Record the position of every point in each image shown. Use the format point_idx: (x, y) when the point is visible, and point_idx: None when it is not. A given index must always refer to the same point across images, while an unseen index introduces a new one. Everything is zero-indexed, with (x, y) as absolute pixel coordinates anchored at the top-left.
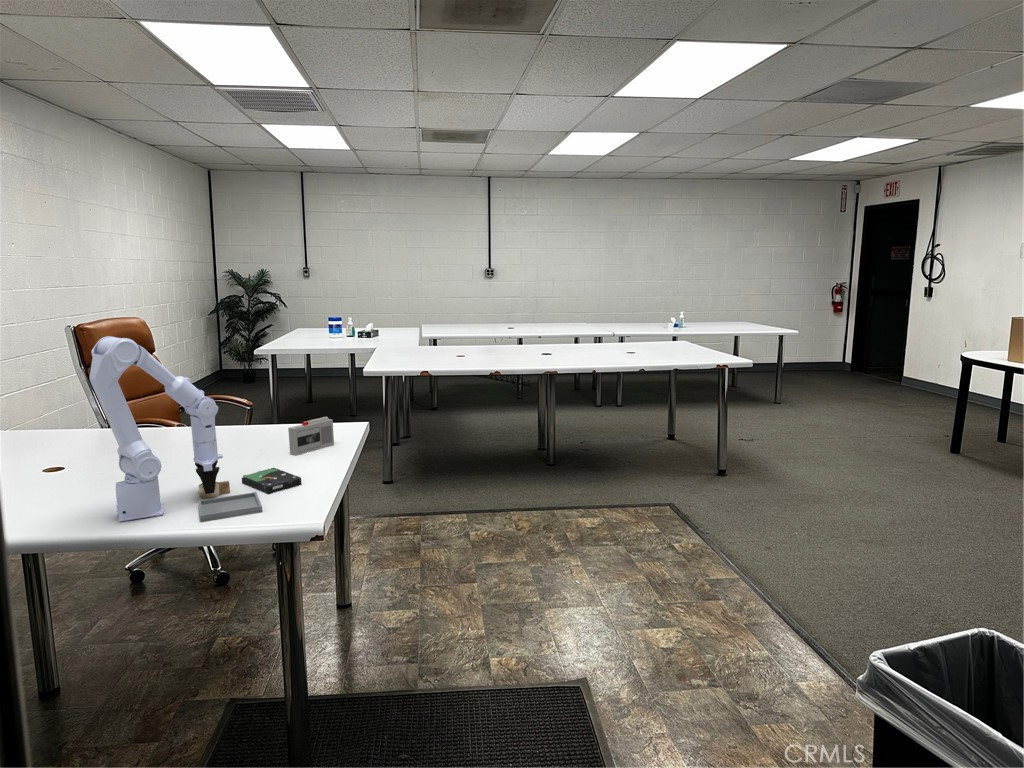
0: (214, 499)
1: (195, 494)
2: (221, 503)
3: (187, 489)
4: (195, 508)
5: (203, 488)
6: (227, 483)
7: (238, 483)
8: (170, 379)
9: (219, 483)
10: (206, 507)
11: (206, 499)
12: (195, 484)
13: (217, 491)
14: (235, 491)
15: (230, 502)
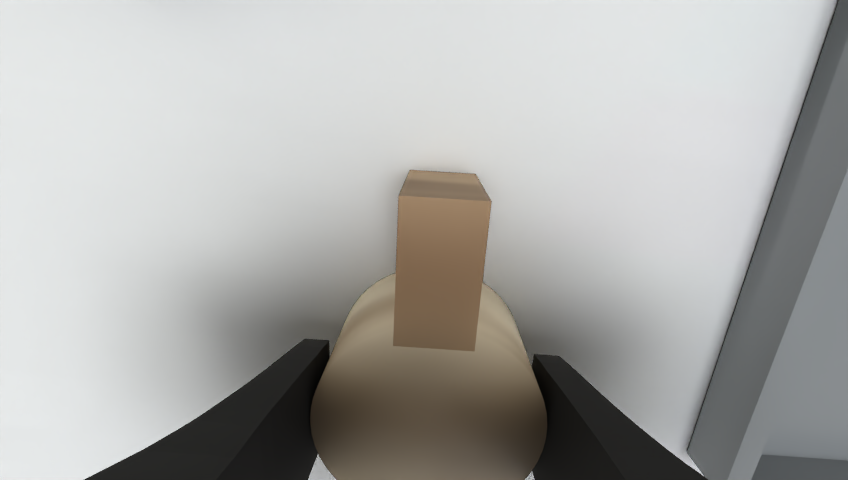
0: (787, 377)
1: None
2: (839, 309)
3: None
4: None
5: (512, 475)
6: (486, 222)
7: (140, 30)
8: None
9: (465, 323)
10: (836, 427)
11: (742, 440)
12: (41, 408)
13: (500, 313)
14: (446, 112)
15: None
